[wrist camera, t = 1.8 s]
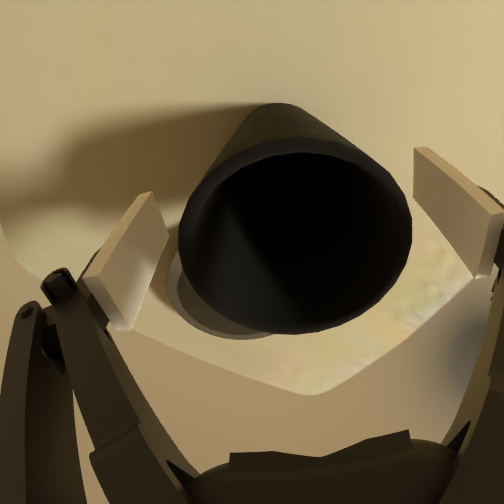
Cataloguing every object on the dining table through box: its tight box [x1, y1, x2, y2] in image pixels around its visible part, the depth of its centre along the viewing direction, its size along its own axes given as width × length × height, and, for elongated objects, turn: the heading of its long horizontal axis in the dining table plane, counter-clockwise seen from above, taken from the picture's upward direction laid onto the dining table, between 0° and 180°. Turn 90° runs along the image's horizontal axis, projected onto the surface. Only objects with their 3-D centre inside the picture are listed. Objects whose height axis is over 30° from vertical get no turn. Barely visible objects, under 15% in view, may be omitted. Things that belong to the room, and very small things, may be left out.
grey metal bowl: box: [166, 247, 273, 340], centre depth 25 cm, size 11×11×3 cm
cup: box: [178, 103, 412, 335], centre depth 15 cm, size 8×8×12 cm
